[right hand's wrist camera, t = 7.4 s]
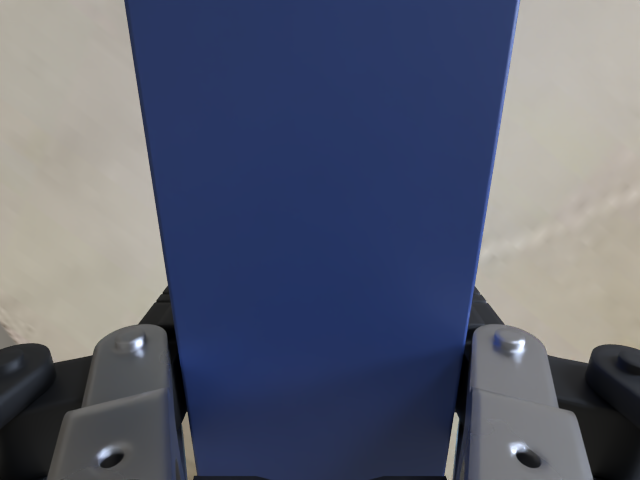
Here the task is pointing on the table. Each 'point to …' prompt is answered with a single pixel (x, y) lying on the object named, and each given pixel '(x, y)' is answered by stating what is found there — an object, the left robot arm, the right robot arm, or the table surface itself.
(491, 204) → the table surface
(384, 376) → the bar
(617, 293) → the table surface
